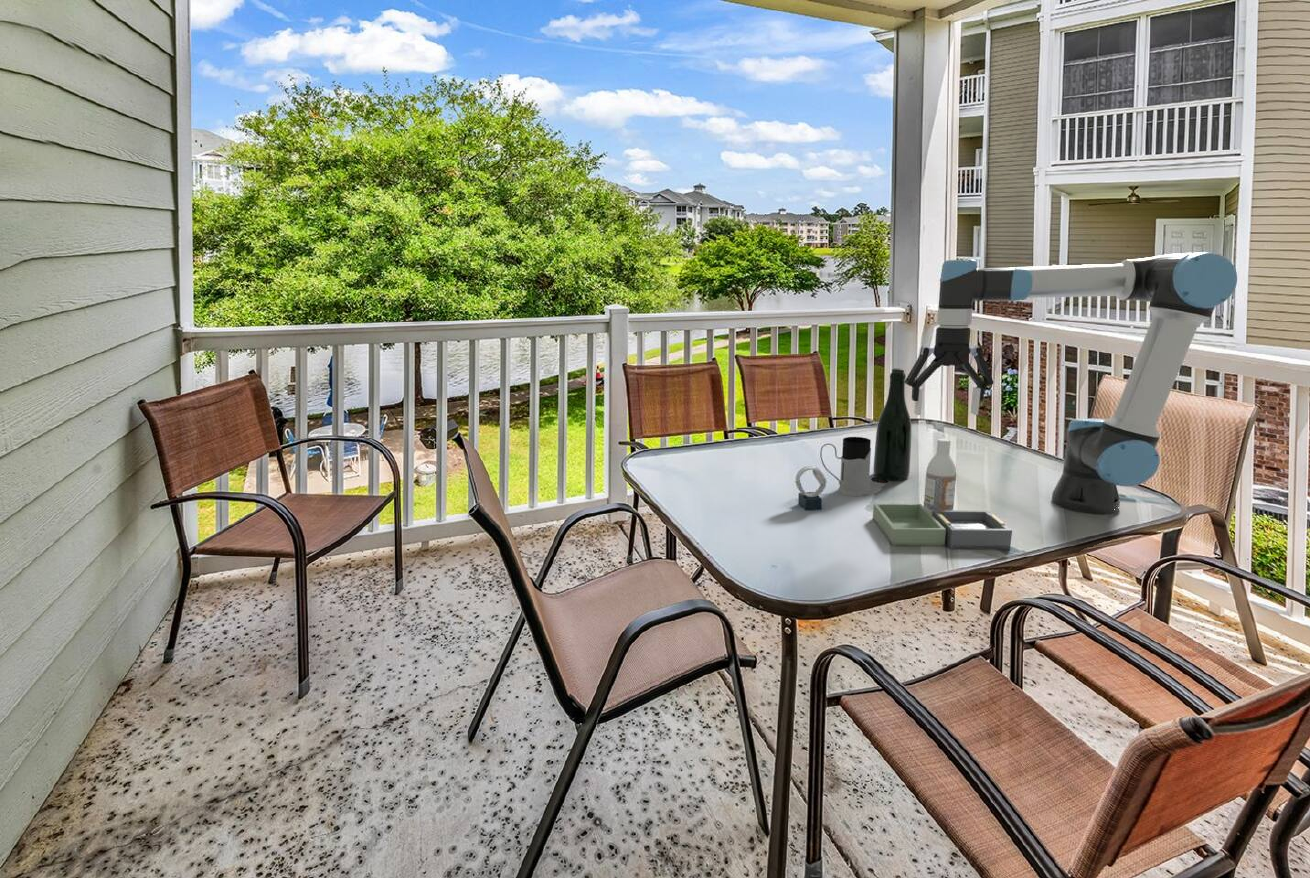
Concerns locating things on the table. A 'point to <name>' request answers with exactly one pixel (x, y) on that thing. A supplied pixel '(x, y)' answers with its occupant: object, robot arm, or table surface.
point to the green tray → (908, 525)
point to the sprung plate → (969, 525)
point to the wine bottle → (894, 433)
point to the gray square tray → (974, 530)
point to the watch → (811, 498)
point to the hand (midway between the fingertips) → (945, 414)
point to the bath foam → (940, 479)
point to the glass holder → (853, 466)
